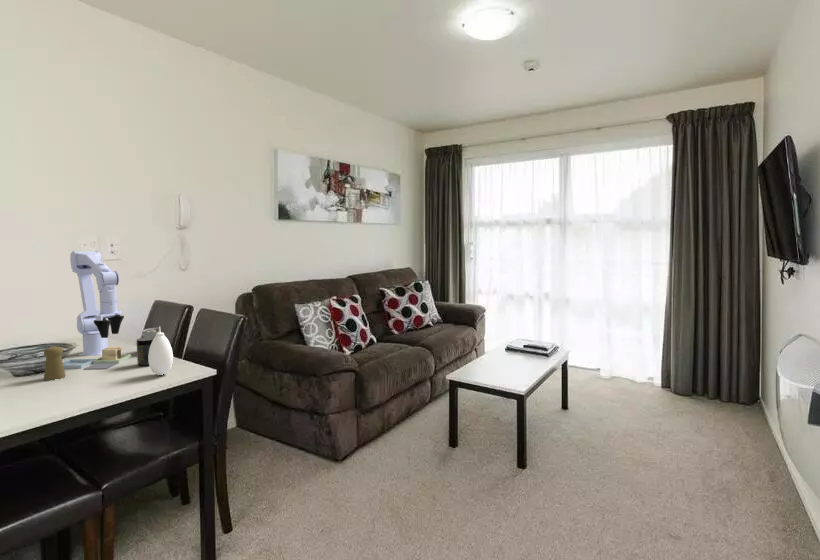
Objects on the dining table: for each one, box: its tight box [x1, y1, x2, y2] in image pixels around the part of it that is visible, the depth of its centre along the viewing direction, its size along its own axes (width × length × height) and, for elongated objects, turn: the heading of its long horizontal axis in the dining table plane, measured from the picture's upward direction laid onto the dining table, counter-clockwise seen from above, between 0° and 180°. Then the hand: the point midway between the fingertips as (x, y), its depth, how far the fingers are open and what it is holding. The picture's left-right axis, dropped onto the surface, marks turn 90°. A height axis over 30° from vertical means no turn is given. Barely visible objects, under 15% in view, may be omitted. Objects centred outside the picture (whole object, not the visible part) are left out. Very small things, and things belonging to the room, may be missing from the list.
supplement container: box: [136, 337, 155, 368], centre depth 175 cm, size 7×7×10 cm
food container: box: [141, 327, 159, 338], centre depth 195 cm, size 12×6×10 cm, turn 25°
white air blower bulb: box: [148, 325, 174, 376], centre depth 162 cm, size 8×8×18 cm
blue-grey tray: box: [62, 358, 97, 370], centre depth 174 cm, size 10×10×2 cm
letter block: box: [101, 346, 123, 360], centre depth 181 cm, size 5×5×5 cm
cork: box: [43, 346, 66, 381], centre depth 158 cm, size 6×6×11 cm
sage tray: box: [92, 353, 132, 365], centre depth 181 cm, size 10×10×2 cm
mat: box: [83, 363, 118, 371], centre depth 172 cm, size 7×8×1 cm
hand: (110, 335), depth 180 cm, fingers open, 7 cm apart
